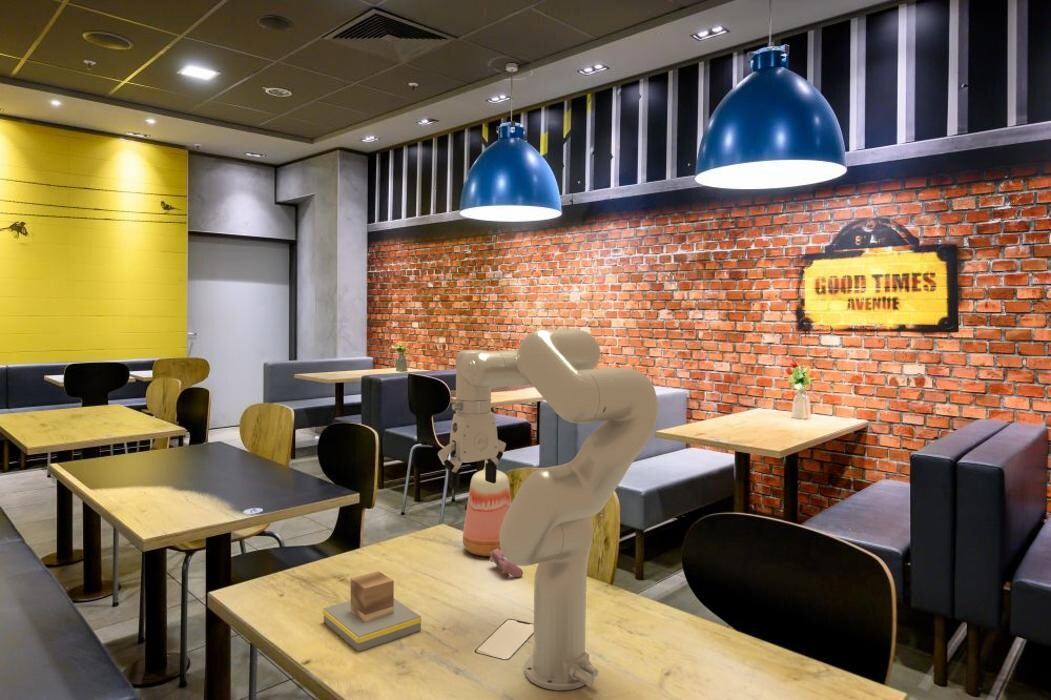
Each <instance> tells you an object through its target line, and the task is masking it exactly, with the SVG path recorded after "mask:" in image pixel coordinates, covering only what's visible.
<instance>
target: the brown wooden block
mask: <svg viewBox="0 0 1051 700" xmlns="http://www.w3.org/2000/svg"><path fill="white" fill-rule="evenodd" d="M394 583H395V582H394V580H393V579H392V578H391V577H389V576H387V575H386V574H384V573H382V572H381V571H375V572H371V573H370V572H369V573H367V574H363V575H360V576H359V575H358V576H355V577H351V578H350V601H351V612H352V613H354V614H355V615H356V616H357V617H359V618H360V619H361V620H363V621H364V622H368V621H371V620H374V619H377V618H381V617H384V616H387V615H390V614H393V613H394V599H395V598H394V595H395V594H394V593H395V592H394V591H395V590H394V589H395V587H394V586H395V585H394Z"/></svg>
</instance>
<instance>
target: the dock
mask: <svg viewBox="0 0 1051 700" xmlns="http://www.w3.org/2000/svg"><path fill="white" fill-rule="evenodd" d="M322 615H323V623H324V622H325V623H326V624H327V625H326V624H325V623H324V624H325V625H326V626H328V627H329V629H331V630H332V629H333V630H334V633H336V635H338V636H339V635H340V636H339V637H340V638H341V639H342V640H344V641H345V642H346V643H347V644H348V645H350V646H351V647H352V648H354V649H355V650H356V651H357V652H362V651H366V650H367V649H370V648H374V647H376V646H379V645H382V644H386V643H388V642H391V641H394V640H397V639H400V638H403V637H406V636H408V635H412V634H415V633H418V632H420V631H421V630H422V616H421V615H420V614H418V613H416V612H415V611H414V610H412V609H410V608H409V607H408V606H406V605H404V604H403V603H401V602H400V601H399V600H397V599H396V598H394V613H393V614H390V615H387V616H384V617H381V618H377V619H374V620H371V621H368V622H364V621H363V620H361V619H360V618H359V617H357V616H356V615H355V614H354V613H352V612H351V600H348V601H344V602H342V603H341V602H340V603H337V604H335V605H331V606H328V607H324V608H323V609H322ZM333 630H332V631H333Z"/></svg>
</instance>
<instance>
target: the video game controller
mask: <svg viewBox="0 0 1051 700" xmlns="http://www.w3.org/2000/svg"><path fill="white" fill-rule="evenodd" d="M490 556H491V557H489V561H490V562H491V563H493V562H494V564H495V566H496V567H497V568H498V570H499V571H500V572H501V573H502V574H504V576H508V575H510V576H512V577H514V578H518V579H519V578H522V576H523V574H524V572H523V570H522V568H521V567H520V566H518V565H515V564H512V563H511V562H509V561H508V560H507V559H506V558H505V556H504V555H503V553H502V550H498V548H497V549H496V550H493V551H492V552H490Z"/></svg>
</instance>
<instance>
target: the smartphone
mask: <svg viewBox="0 0 1051 700" xmlns="http://www.w3.org/2000/svg"><path fill="white" fill-rule="evenodd" d="M533 636H534V622H532V623H531V622H528V621H523V620H519V619H513V618H507V619H506V620H505V621H503V622H502V624H500V625H499V626H498V628H496V629H495V630H494V631H493V632H492V633H491V634H490V635H489V636H488V637H487V638H486V639H485V640H484V641H483V642H482V643H481V644H480V645H478V647H477V648H476V649H475V650H474V653H475V654H477V655H482V656H485V657H489V658H493V659H497V660H501V661H509V660H511V659H512V658H513V657H514V656H515V654H516V653H518V651H519V650H521V648H522V647H523V646H524V645H526V643H527V642H528V641H529V639H531V638H532V637H533ZM477 650H479V651H480V652H478V651H477ZM481 652H483V653H481ZM484 653H485V654H484Z"/></svg>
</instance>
